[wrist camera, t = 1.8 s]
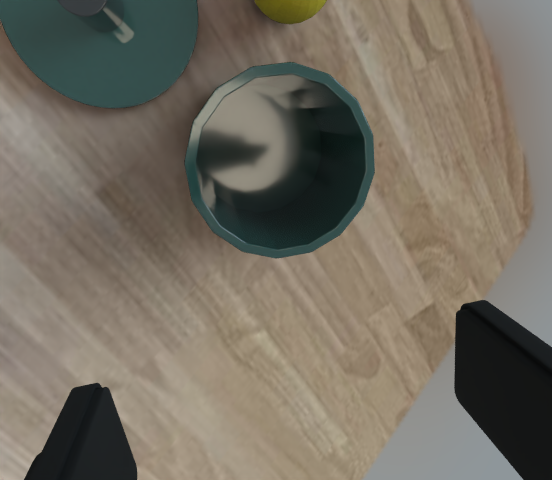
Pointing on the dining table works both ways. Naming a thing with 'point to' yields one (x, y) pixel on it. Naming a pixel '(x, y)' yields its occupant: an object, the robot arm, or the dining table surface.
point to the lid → (104, 46)
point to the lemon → (290, 9)
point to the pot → (280, 160)
